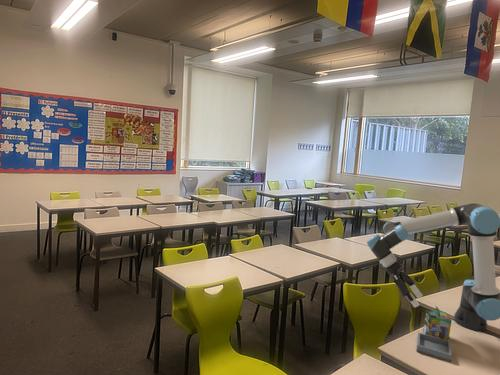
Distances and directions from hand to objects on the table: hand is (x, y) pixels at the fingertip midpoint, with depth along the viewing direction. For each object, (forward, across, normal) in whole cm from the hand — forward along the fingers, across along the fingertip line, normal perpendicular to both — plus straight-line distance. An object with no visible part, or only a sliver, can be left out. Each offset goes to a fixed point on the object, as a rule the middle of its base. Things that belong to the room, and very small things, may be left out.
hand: (418, 301), depth 178 cm
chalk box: (+17, 0, -4) cm, 18 cm away
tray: (+17, +13, -4) cm, 22 cm away
